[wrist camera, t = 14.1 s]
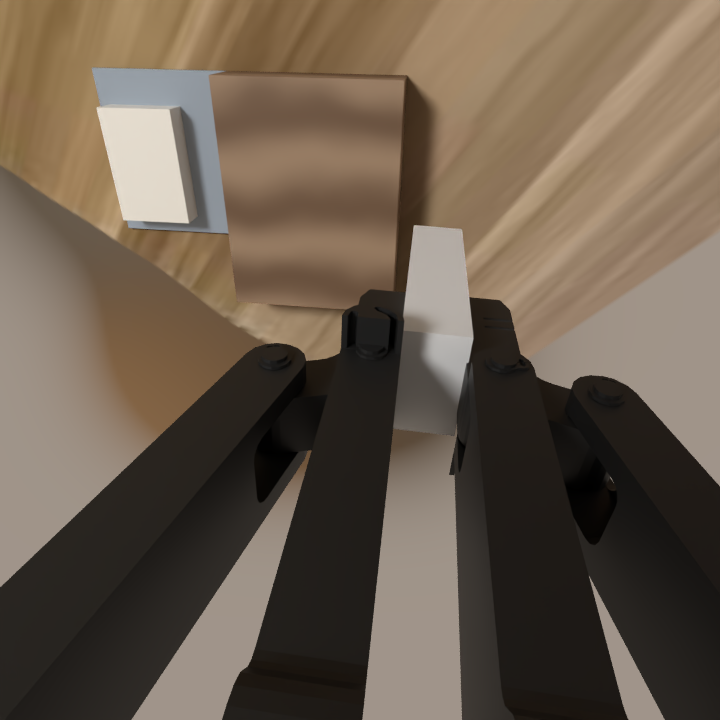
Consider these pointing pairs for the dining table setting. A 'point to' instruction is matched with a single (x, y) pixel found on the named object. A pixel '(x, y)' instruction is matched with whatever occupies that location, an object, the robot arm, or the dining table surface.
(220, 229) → the mat
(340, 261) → the brown wooden slab
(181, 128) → the white rectangular block
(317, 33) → the dining table surface
